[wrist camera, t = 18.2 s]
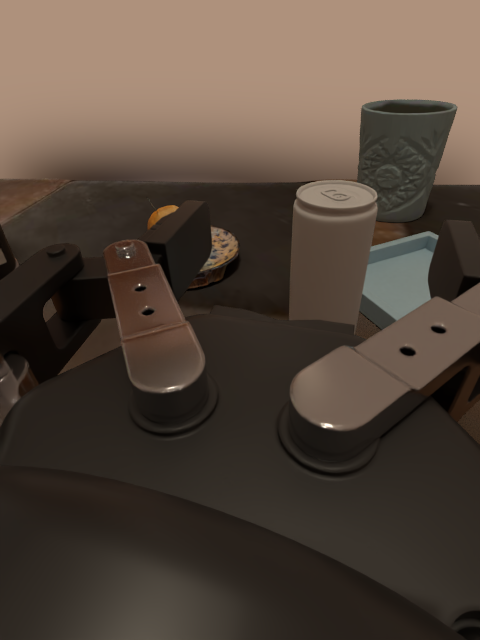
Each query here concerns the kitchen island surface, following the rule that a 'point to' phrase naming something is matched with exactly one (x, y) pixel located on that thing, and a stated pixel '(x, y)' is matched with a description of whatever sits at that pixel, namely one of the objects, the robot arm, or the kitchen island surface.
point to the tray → (397, 278)
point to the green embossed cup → (402, 153)
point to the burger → (221, 252)
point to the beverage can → (330, 250)
